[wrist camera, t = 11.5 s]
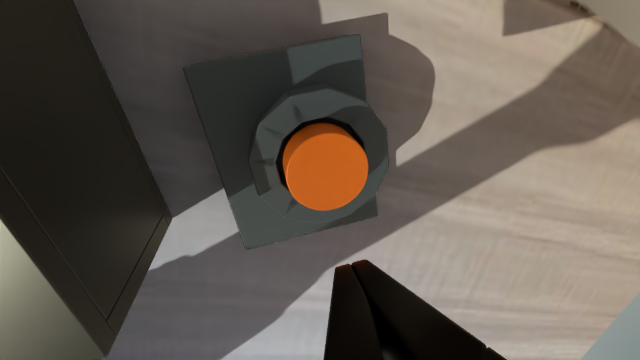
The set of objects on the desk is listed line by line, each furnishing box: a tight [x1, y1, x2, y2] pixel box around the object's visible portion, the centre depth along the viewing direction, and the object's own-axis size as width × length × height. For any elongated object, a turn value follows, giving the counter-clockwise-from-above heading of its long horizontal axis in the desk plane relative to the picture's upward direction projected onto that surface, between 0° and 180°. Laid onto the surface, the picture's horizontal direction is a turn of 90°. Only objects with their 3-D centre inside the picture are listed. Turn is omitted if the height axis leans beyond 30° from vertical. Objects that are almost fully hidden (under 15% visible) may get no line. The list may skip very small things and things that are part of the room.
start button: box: [283, 123, 368, 211], centre depth 14 cm, size 4×4×2 cm
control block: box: [183, 34, 389, 249], centre depth 15 cm, size 10×8×4 cm
